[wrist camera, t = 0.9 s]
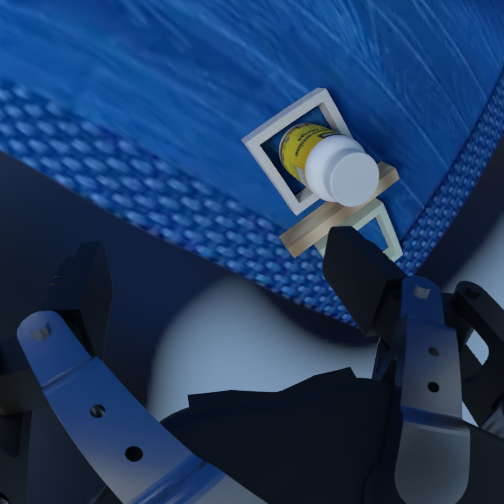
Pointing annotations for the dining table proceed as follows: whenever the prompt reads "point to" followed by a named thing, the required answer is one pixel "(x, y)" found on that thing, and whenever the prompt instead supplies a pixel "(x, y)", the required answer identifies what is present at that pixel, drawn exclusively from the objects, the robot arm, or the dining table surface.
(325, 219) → the edge strip
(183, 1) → the dining table surface
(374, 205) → the keeper
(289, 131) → the pill bottle
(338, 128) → the keeper
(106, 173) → the dining table surface
